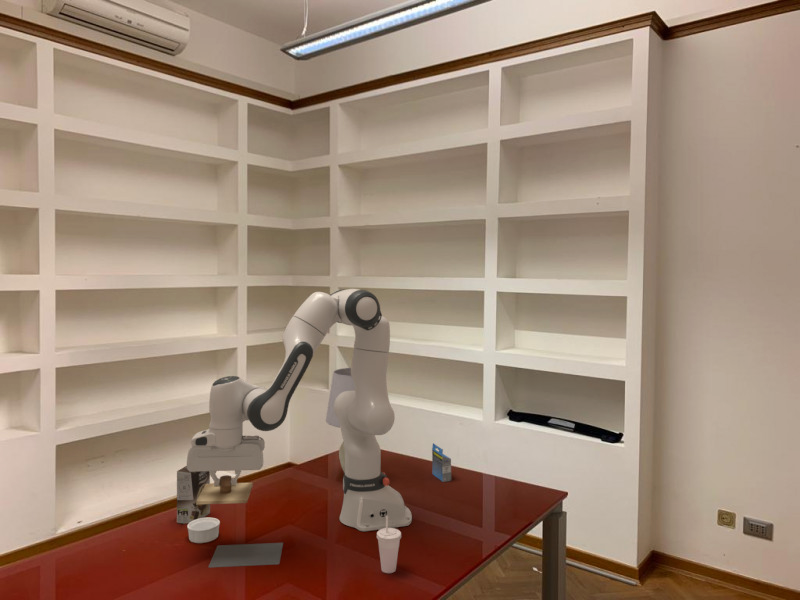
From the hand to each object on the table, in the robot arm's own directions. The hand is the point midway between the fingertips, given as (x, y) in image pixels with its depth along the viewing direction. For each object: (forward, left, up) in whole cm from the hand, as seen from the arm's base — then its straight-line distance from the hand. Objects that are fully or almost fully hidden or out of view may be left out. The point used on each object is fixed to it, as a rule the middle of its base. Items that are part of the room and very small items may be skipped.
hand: (225, 485), depth 160 cm
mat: (-7, +5, -18) cm, 19 cm away
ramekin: (+7, -7, -18) cm, 21 cm away
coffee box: (+13, -21, -18) cm, 31 cm away
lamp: (-39, -51, -18) cm, 66 cm away
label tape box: (-70, -49, -18) cm, 87 cm away
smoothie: (-44, +15, -18) cm, 50 cm away
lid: (0, 0, -2) cm, 2 cm away
